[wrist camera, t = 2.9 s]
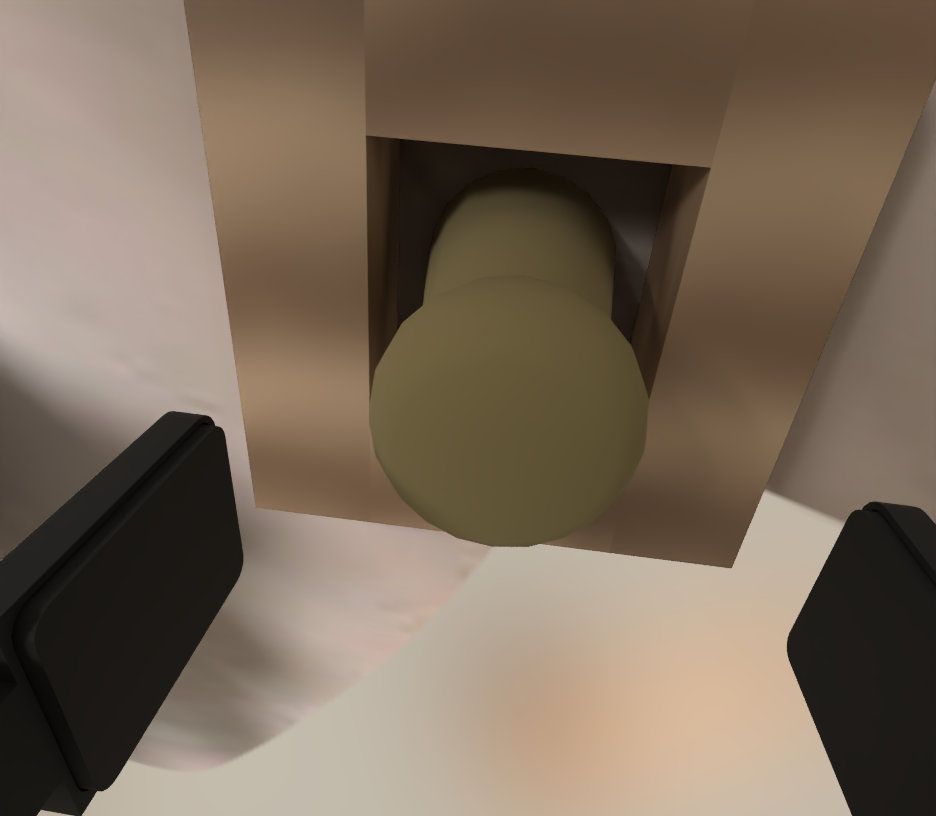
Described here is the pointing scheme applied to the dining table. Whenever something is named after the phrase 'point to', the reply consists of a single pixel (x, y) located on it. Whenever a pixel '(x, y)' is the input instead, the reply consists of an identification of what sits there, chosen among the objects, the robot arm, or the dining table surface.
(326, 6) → the walnut holder
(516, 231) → the cork
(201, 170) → the dining table surface
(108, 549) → the robot arm
